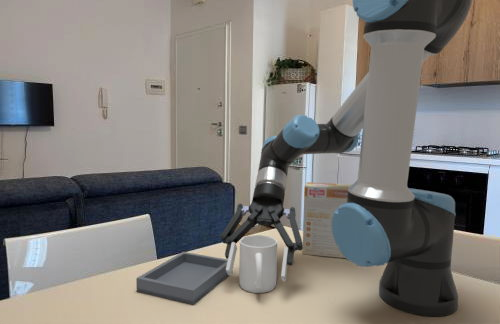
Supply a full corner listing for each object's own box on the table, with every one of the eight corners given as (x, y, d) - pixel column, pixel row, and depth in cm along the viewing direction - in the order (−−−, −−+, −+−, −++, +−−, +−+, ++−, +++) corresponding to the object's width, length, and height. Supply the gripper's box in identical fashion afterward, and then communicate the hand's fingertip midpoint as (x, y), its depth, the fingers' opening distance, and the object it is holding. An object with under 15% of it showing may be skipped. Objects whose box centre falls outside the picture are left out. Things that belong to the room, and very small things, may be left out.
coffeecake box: (357, 251, 108) (360, 184, 105) (358, 260, 101) (361, 188, 99) (304, 246, 111) (306, 181, 109) (301, 254, 104) (304, 185, 102)
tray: (232, 272, 91) (232, 260, 91) (193, 305, 75) (193, 290, 74) (183, 263, 97) (183, 251, 96) (136, 291, 80) (136, 278, 80)
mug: (278, 302, 76) (279, 253, 75) (237, 302, 76) (238, 253, 75) (275, 278, 88) (276, 235, 87) (239, 277, 88) (240, 234, 87)
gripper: (318, 201, 93) (312, 288, 79) (226, 195, 98) (206, 276, 85) (318, 183, 87) (311, 274, 74) (220, 178, 92) (198, 262, 79)
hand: (255, 275), depth 79 cm, fingers open, 11 cm apart
